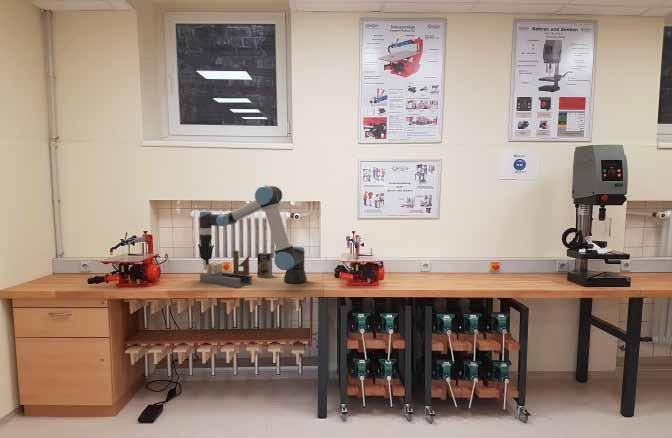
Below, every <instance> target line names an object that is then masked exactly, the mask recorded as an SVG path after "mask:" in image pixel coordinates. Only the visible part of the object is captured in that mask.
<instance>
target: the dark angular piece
mask: <svg viewBox="0 0 672 438" xmlns="http://www.w3.org/2000/svg"><path fill="white" fill-rule="evenodd" d="M239 253H240V251H239V250H233V252H232V255H233V256H232V260H233V261H232V263H233V264H232V266H233V271H232V273H233V274H239V275H250V256H249V255H248V256H247V257H246V258H245V259H244V260H243V261H242V262H241V263H240V260H239V256H240V255H239ZM239 263H240V264H239ZM239 267H241V268H243V270H240V268H239Z"/></svg>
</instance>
